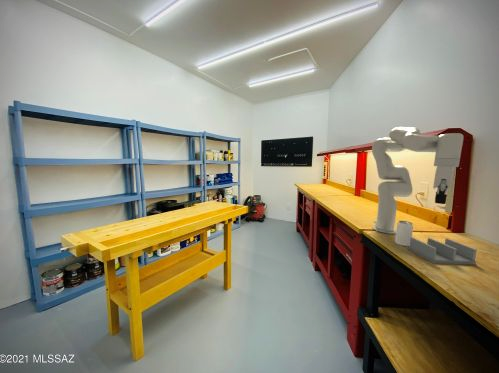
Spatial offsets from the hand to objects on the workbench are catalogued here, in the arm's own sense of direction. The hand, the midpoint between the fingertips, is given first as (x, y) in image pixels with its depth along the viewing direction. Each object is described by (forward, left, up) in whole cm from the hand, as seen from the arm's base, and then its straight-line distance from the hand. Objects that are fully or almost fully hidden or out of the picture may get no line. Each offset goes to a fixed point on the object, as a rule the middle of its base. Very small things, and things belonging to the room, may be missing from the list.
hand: (439, 201), depth 83 cm
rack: (0, +4, -26) cm, 26 cm away
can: (-13, -3, -26) cm, 29 cm away
